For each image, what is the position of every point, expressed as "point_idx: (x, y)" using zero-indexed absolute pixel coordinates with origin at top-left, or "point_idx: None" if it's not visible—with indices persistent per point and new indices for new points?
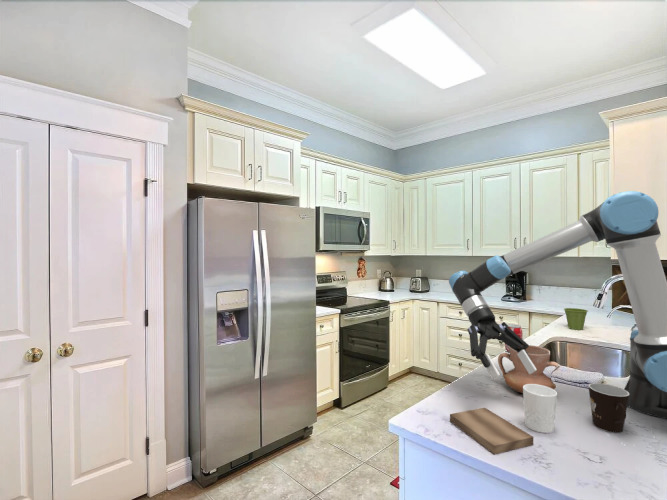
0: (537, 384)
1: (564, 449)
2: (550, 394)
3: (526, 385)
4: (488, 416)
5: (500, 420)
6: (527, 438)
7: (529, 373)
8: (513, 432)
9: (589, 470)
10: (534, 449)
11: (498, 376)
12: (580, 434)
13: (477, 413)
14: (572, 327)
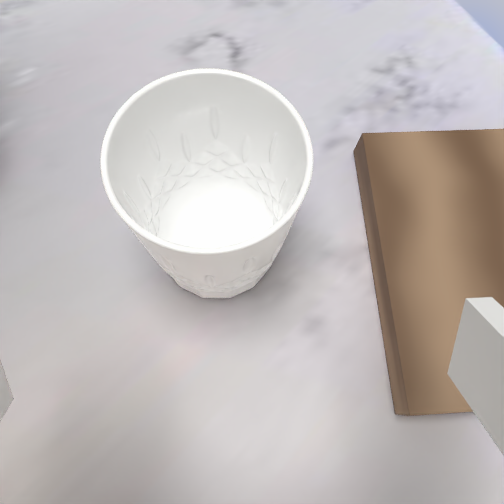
0: (134, 227)
1: None
2: (122, 169)
3: (226, 246)
4: (449, 319)
5: (412, 270)
6: (392, 132)
7: (10, 396)
8: (421, 176)
9: (288, 20)
10: (369, 131)
11: (460, 323)
12: None
13: None
14: None
